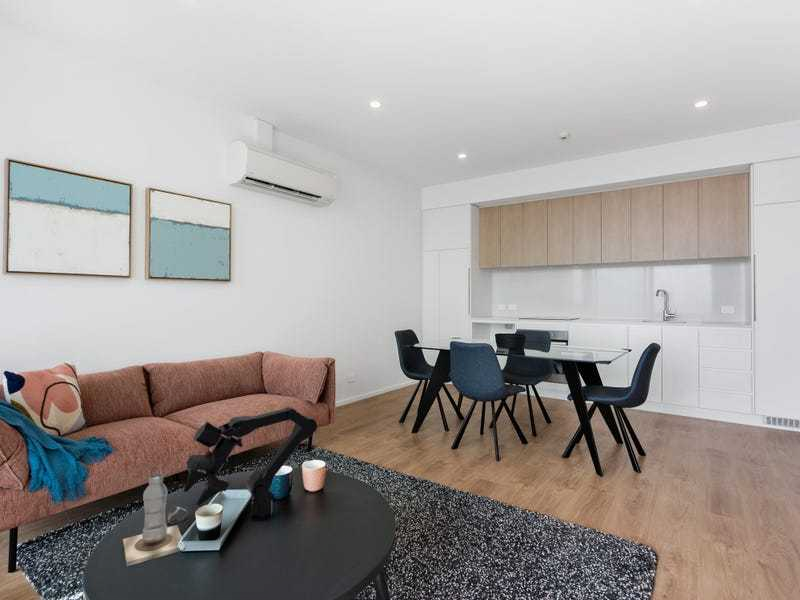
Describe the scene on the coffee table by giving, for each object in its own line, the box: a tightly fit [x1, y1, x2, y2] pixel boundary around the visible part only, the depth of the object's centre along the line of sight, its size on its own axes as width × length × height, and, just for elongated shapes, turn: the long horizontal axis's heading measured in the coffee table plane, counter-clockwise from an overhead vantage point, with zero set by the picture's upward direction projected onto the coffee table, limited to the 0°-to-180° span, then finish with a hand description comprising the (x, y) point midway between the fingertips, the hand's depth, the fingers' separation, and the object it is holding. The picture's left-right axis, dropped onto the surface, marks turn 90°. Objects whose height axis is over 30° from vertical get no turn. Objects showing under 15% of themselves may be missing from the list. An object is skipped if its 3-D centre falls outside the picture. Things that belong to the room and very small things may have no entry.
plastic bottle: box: [141, 473, 168, 544], centre depth 130 cm, size 6×7×20 cm
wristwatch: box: [167, 506, 188, 525], centre depth 145 cm, size 4×6×5 cm, turn 138°
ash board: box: [122, 524, 183, 567], centre depth 130 cm, size 15×15×1 cm
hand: (191, 498), depth 137 cm, fingers open, 9 cm apart
